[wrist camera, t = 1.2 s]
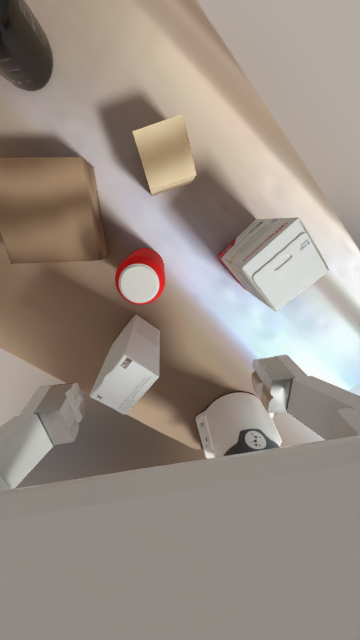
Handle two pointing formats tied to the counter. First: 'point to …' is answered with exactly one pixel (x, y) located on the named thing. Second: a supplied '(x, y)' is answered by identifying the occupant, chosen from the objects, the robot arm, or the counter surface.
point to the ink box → (274, 260)
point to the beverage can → (141, 277)
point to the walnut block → (50, 210)
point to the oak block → (165, 154)
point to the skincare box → (129, 366)
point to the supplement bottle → (23, 47)
